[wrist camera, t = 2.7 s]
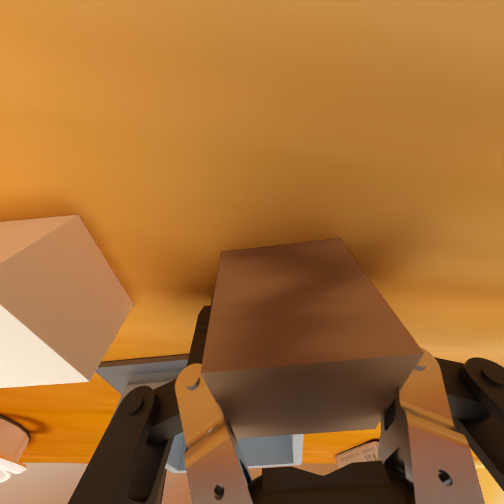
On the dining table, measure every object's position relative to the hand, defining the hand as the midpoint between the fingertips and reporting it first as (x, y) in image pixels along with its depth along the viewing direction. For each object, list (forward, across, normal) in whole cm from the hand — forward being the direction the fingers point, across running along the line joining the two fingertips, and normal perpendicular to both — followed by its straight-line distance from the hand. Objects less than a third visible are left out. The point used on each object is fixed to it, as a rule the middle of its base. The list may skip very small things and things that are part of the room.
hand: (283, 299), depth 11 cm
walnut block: (+1, 0, 0) cm, 1 cm away
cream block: (+1, +12, -3) cm, 12 cm away
